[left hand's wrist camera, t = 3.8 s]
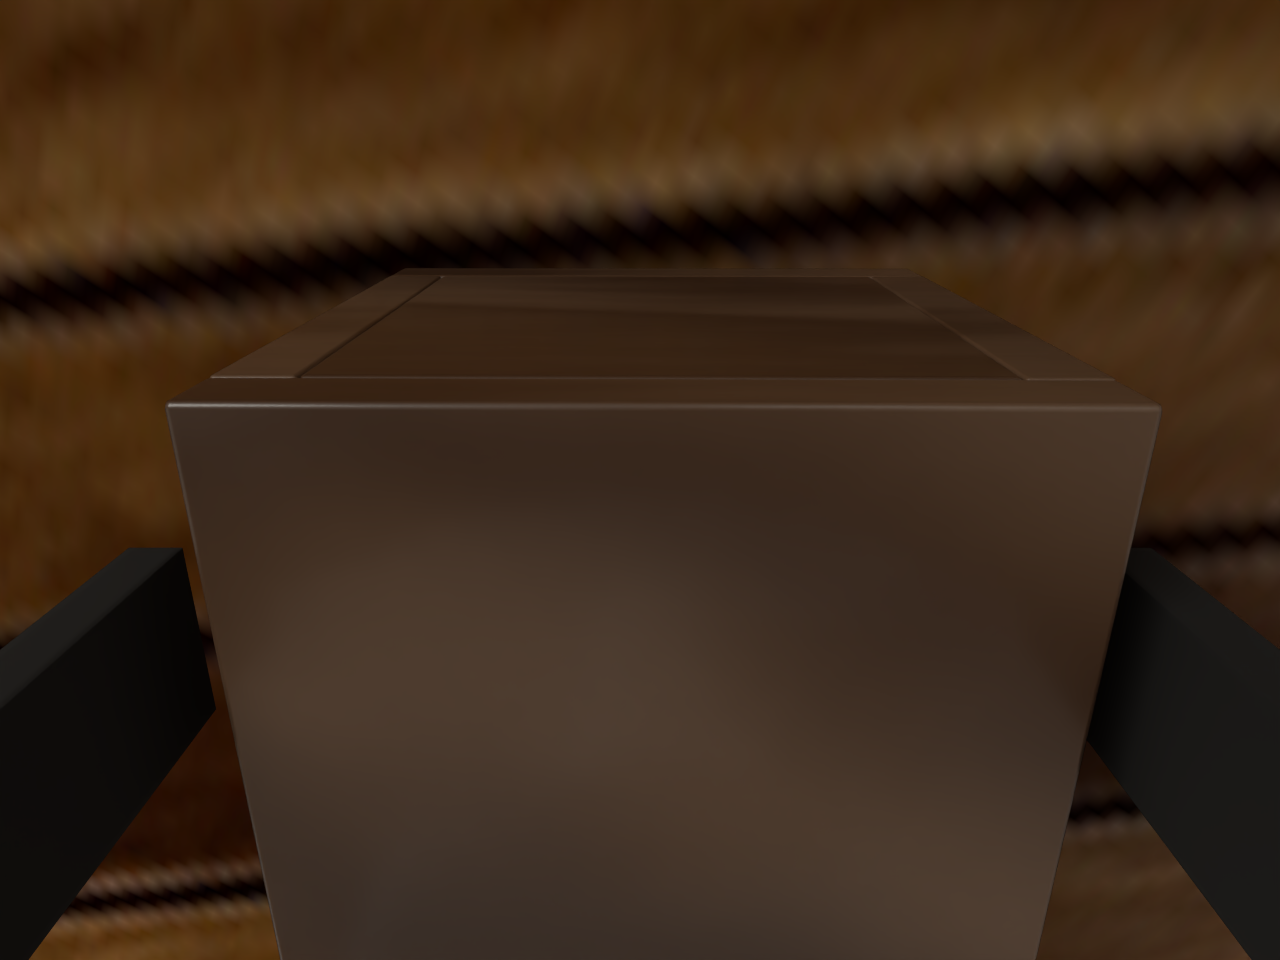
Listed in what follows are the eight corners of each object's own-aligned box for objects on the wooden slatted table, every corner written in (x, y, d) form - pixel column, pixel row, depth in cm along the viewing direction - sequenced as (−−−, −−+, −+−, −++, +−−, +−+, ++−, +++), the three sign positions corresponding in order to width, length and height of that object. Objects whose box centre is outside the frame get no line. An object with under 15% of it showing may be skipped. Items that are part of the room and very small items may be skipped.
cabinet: (838, 906, 25) (947, 1356, 16) (465, 903, 25) (358, 1347, 16) (909, 268, 18) (1168, 404, 9) (403, 267, 18) (159, 400, 9)
